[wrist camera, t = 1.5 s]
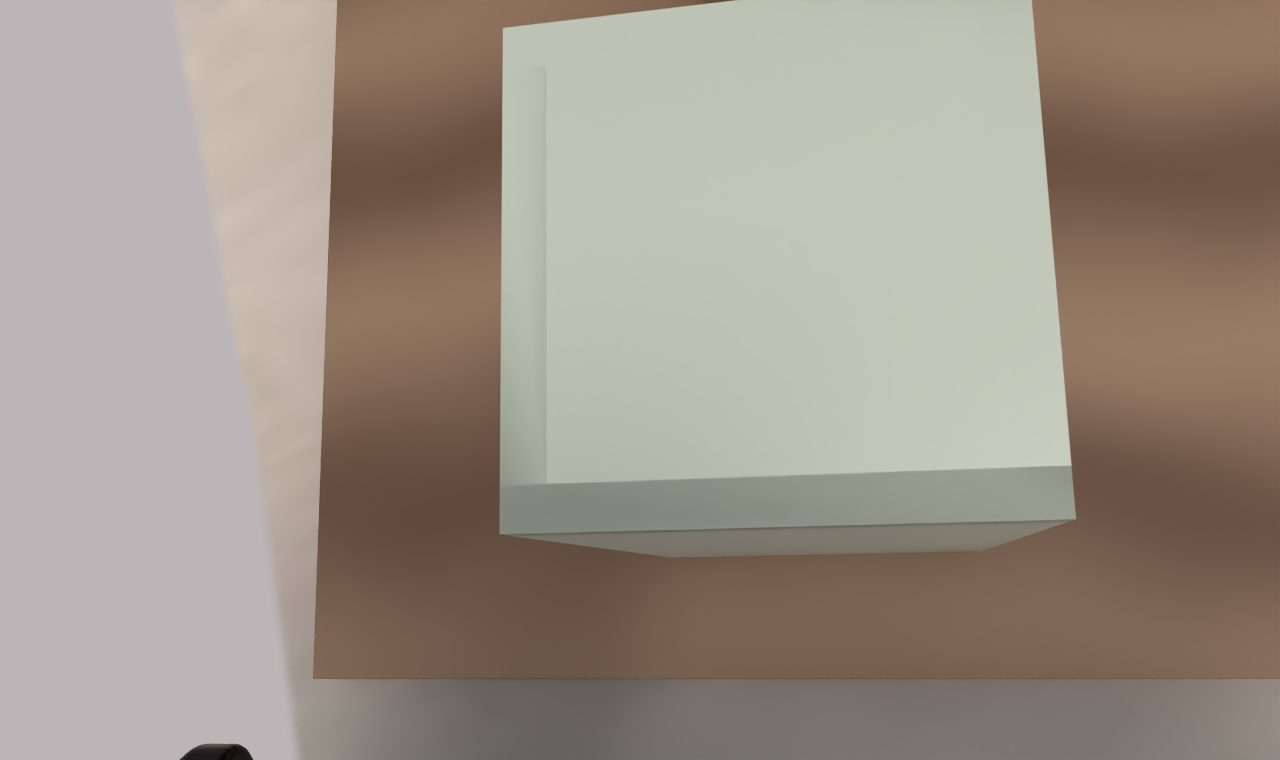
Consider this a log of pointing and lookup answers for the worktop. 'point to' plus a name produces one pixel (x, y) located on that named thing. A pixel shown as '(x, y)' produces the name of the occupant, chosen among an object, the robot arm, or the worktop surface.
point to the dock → (830, 583)
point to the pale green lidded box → (779, 281)
